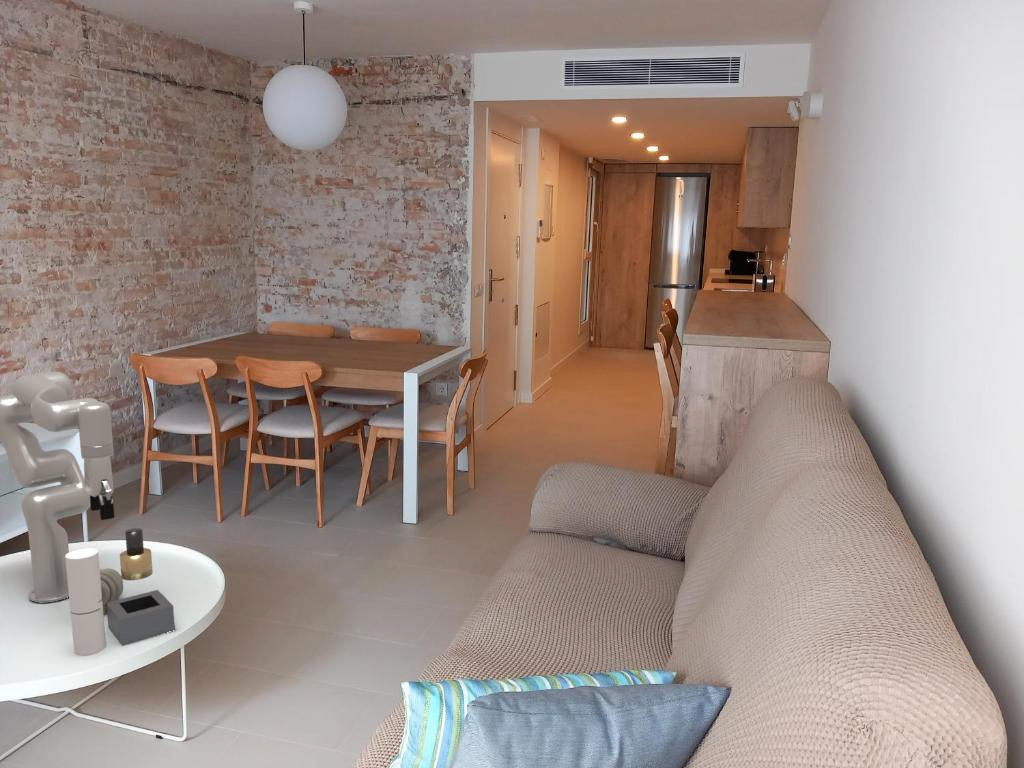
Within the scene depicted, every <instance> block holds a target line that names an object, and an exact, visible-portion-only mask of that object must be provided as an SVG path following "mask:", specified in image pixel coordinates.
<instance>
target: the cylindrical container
mask: <svg viewBox="0 0 1024 768" xmlns="http://www.w3.org/2000/svg"><path fill="white" fill-rule="evenodd" d="M65 558H66V569H67V579H68V590H69V598H68V599H69V600H68V601H69V609H70V619H71V631H72V641H73V643H72V644H73V652H74V654H75V655H77V656H91V655H94V654H95V655H96V654H98V653H100V652H102V651H104V650H105V649H106V648H107V641H106V639H107V637H106V630H105V629H106V628H105V617H104V616H105V615H103V603H102V592H101V580H100V569H101V567H100V561H99V559H100V558H99V551H98V549H96V548H90V547H87V548H80V549H74V550H72V551H69V553H67V554H66V555H65Z"/></svg>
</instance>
